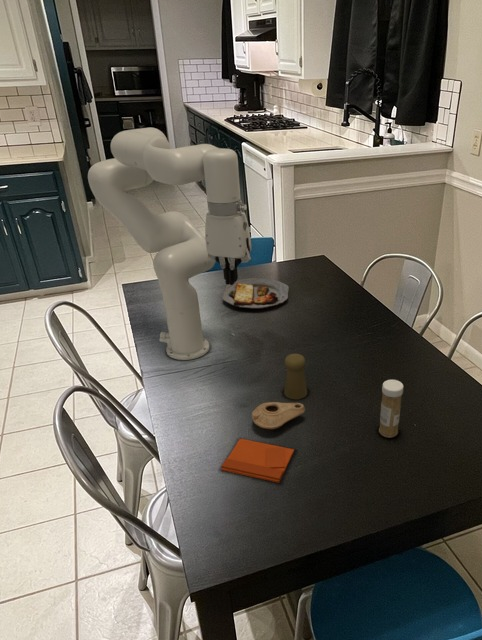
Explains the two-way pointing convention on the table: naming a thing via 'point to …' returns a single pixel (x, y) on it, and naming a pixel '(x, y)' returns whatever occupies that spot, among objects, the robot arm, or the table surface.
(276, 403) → the pottery oil lamp
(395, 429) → the sprinkles bottle
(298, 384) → the cork
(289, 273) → the table surface
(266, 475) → the rust cloth
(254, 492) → the table surface
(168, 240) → the robot arm
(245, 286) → the food plate
